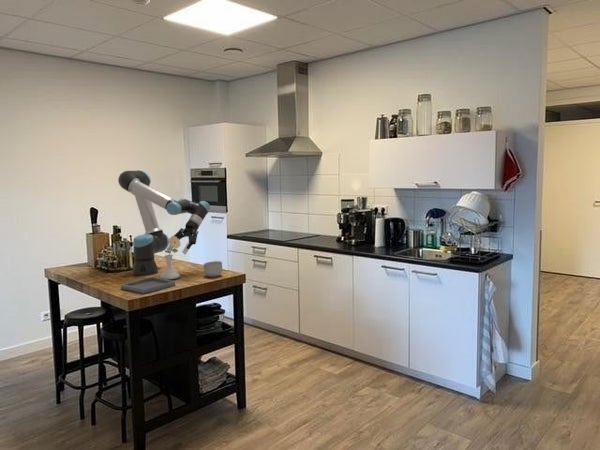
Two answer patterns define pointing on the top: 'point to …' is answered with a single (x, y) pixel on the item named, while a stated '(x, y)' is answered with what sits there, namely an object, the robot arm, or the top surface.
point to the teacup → (213, 268)
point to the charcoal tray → (148, 285)
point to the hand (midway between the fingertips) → (175, 252)
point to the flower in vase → (170, 272)
